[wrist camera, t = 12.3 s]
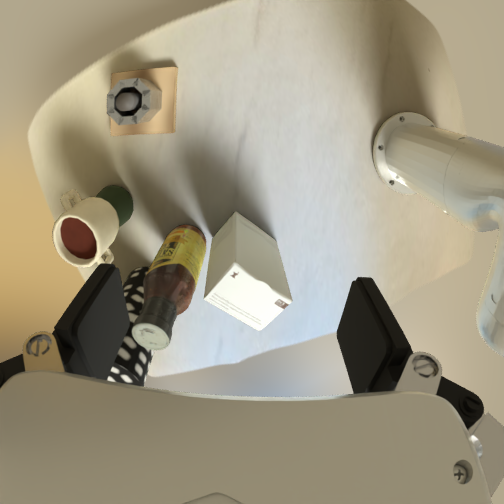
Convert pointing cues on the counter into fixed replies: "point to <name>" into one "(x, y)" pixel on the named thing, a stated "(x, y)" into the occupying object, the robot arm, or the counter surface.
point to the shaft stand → (133, 101)
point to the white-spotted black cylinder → (131, 353)
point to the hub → (149, 101)
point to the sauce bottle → (169, 286)
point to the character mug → (91, 225)
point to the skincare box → (246, 273)
